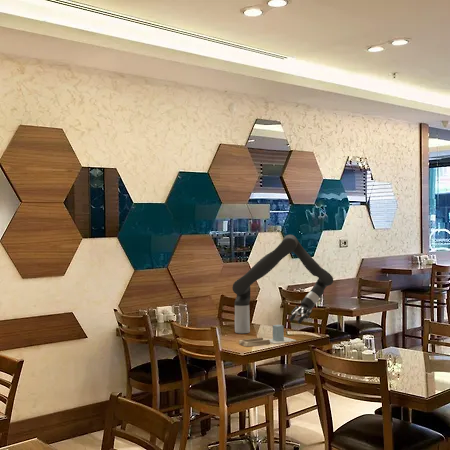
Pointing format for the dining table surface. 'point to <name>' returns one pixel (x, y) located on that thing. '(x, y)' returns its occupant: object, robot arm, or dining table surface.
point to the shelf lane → (253, 342)
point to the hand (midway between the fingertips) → (294, 321)
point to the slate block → (278, 332)
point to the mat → (281, 341)
